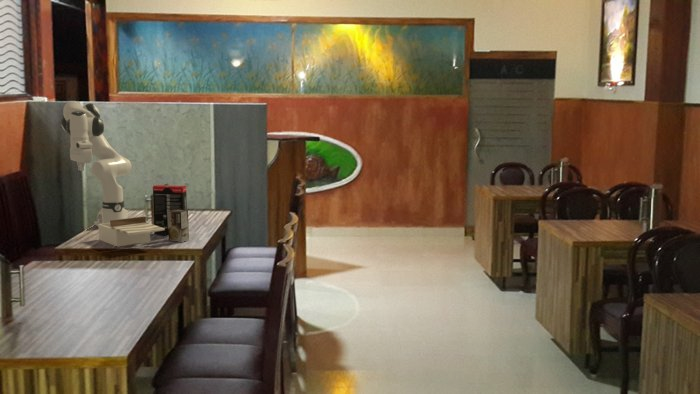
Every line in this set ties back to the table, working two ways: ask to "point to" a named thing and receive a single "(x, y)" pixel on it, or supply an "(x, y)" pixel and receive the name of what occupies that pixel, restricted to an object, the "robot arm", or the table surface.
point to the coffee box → (178, 225)
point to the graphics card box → (167, 204)
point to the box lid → (134, 226)
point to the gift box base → (120, 236)
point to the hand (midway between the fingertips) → (81, 170)
